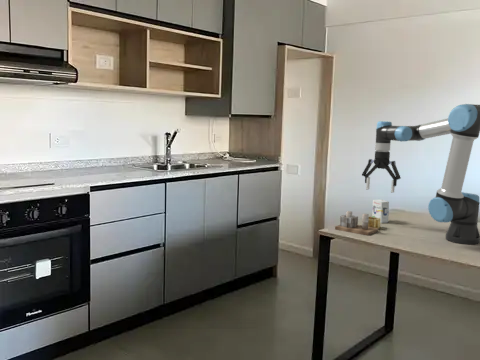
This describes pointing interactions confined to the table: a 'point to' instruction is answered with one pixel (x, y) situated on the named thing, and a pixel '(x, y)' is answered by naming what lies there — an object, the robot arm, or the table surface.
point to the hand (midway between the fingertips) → (379, 190)
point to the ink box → (381, 210)
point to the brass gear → (374, 222)
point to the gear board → (355, 224)
